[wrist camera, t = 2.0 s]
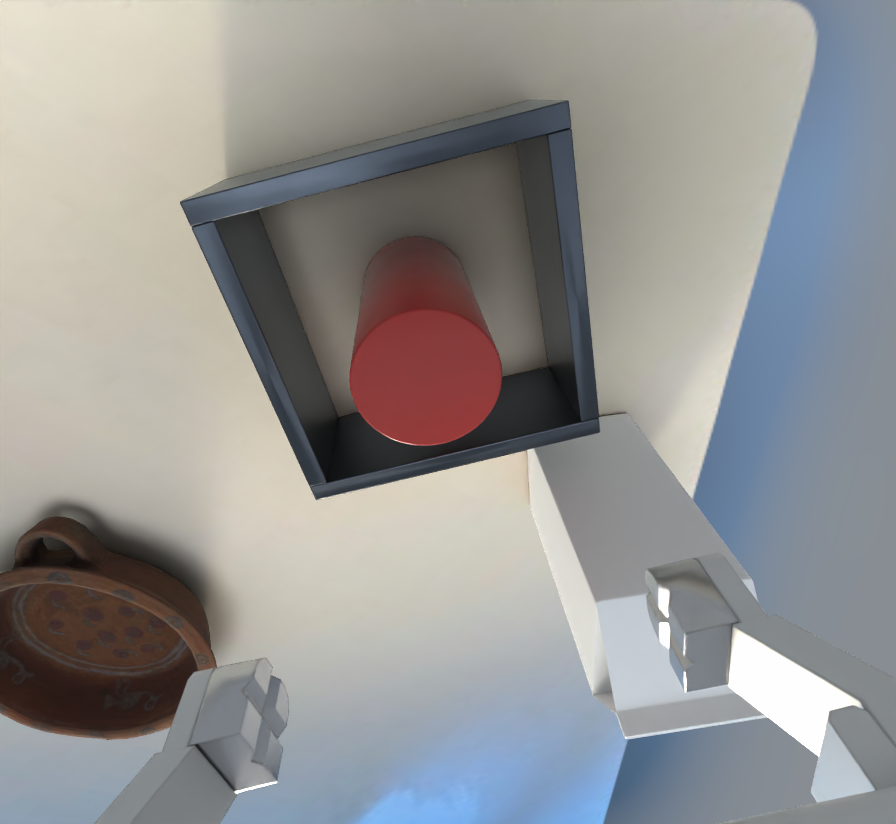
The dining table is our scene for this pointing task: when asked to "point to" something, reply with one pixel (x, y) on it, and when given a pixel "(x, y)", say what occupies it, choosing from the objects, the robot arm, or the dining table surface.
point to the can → (422, 347)
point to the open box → (286, 345)
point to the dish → (94, 638)
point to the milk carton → (625, 571)
